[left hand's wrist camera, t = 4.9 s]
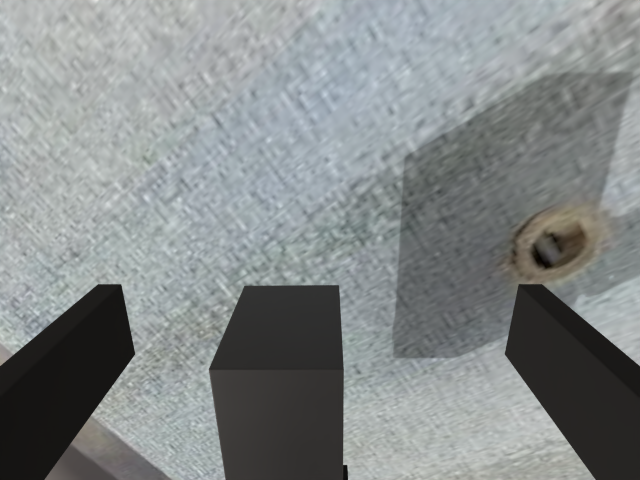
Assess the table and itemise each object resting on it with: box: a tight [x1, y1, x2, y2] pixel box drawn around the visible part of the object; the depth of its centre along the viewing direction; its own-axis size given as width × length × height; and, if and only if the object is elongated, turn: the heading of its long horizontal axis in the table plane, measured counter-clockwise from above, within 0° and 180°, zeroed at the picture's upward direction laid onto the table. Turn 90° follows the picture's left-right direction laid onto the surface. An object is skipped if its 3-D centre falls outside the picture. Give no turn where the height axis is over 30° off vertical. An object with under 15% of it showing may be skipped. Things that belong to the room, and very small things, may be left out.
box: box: [209, 285, 344, 480], centre depth 29 cm, size 23×7×9 cm, turn 1°
